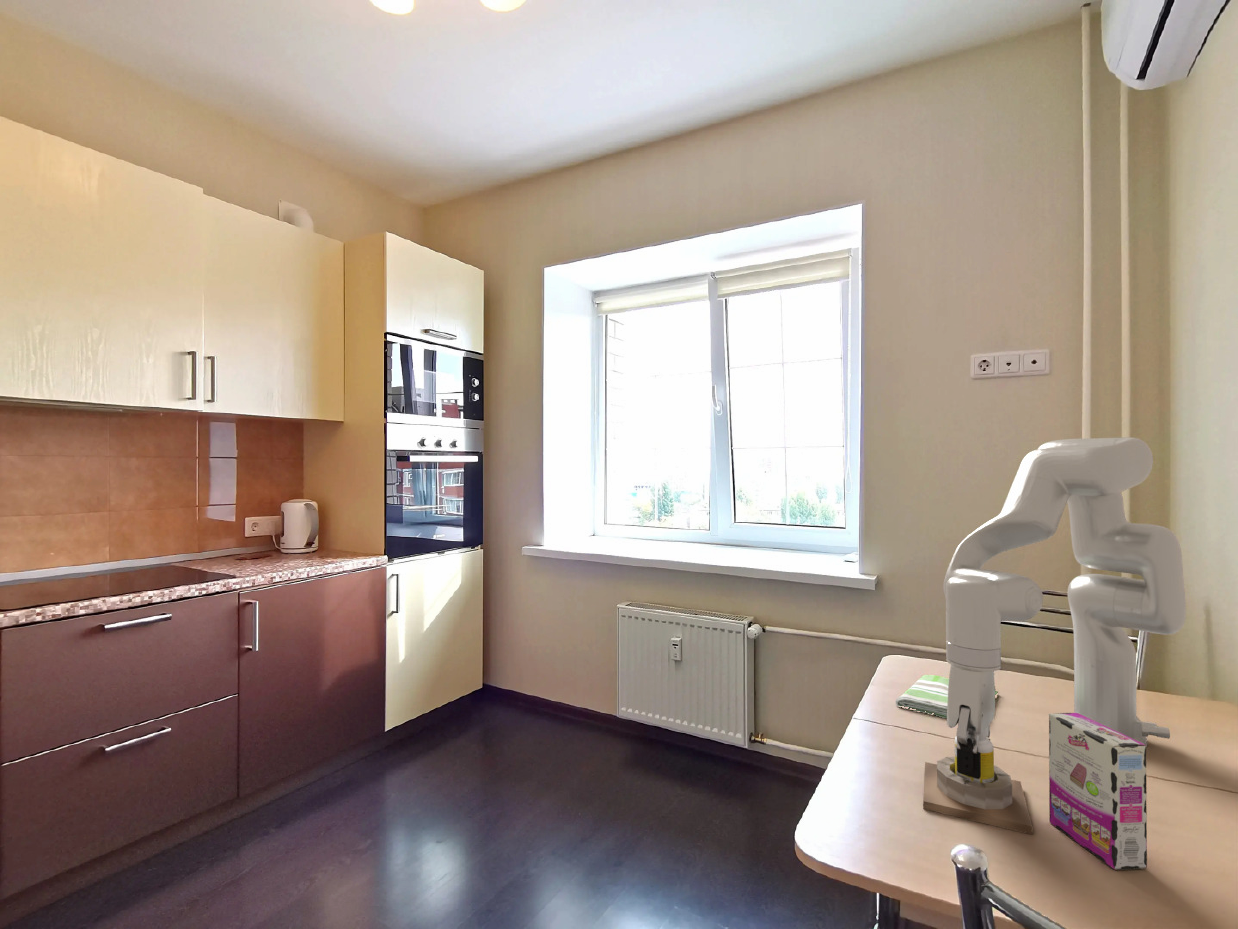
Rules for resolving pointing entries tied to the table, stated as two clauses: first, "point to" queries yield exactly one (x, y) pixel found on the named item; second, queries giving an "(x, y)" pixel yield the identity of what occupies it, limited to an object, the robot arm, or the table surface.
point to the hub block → (976, 797)
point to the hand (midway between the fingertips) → (973, 767)
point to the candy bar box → (1098, 789)
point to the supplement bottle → (986, 758)
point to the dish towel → (927, 695)
